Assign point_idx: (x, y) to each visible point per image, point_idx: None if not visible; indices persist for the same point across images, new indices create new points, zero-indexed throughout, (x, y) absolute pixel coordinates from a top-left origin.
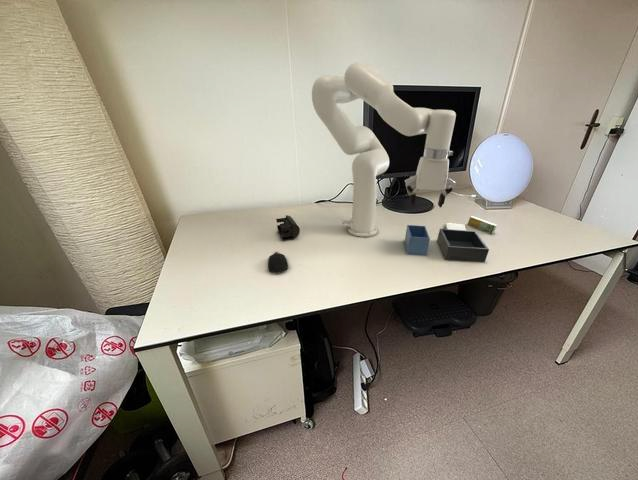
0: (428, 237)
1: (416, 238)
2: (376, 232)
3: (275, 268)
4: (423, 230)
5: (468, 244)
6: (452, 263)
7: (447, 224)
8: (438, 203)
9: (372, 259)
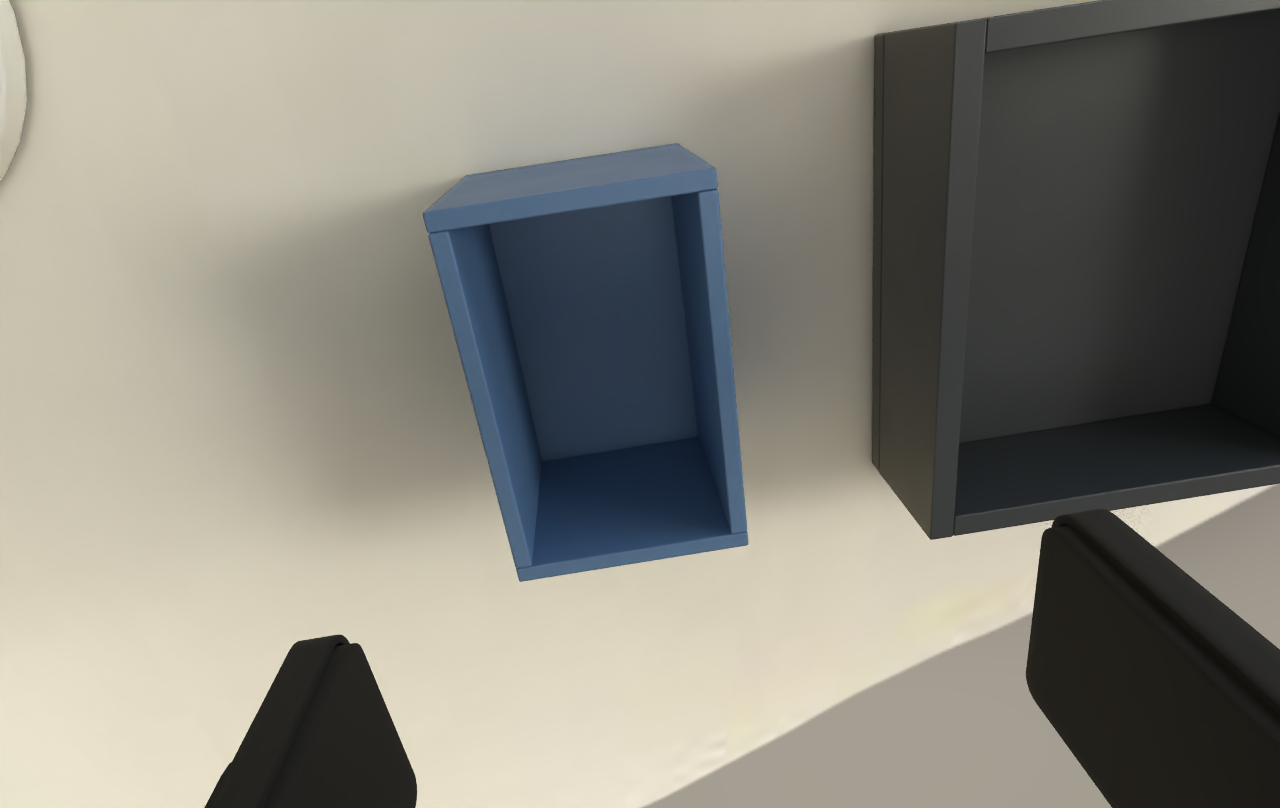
0: (734, 529)
1: (594, 562)
2: (17, 54)
3: None
4: (689, 196)
5: (1232, 96)
6: None
7: None
8: (1064, 576)
9: (257, 632)
